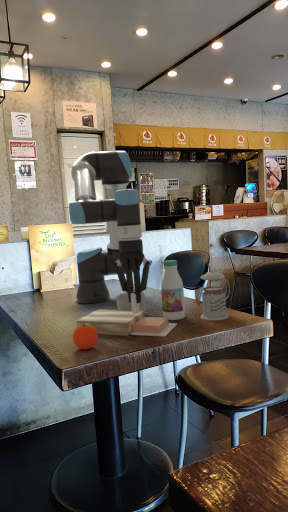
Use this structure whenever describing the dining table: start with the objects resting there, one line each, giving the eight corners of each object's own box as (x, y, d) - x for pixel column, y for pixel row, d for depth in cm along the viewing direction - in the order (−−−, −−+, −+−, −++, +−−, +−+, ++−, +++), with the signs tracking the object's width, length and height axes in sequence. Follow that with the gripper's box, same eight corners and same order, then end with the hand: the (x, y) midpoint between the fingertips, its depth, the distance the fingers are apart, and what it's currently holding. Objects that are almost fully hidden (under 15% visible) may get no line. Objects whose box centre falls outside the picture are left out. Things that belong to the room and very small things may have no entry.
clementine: (89, 341, 109) (87, 318, 109) (106, 345, 105) (104, 320, 105) (68, 350, 103) (66, 325, 102) (86, 354, 99) (83, 328, 98)
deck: (98, 320, 132) (97, 309, 132) (145, 322, 125) (144, 310, 125) (77, 332, 119) (76, 320, 119) (128, 335, 112) (127, 322, 112)
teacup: (148, 318, 130) (146, 296, 130) (117, 321, 130) (115, 298, 129) (145, 308, 144) (143, 288, 143) (117, 311, 144) (115, 291, 143)
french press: (194, 316, 128) (189, 244, 126) (219, 310, 134) (216, 241, 132) (213, 322, 120) (208, 245, 117) (239, 315, 126) (235, 241, 123)
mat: (145, 323, 124) (145, 322, 124) (177, 324, 120) (176, 323, 120) (131, 334, 113) (130, 333, 113) (165, 336, 109) (164, 335, 109)
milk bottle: (167, 314, 134) (163, 259, 132) (188, 315, 131) (184, 258, 129) (159, 320, 127) (155, 262, 125) (181, 321, 124) (177, 261, 122)
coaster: (142, 323, 123) (142, 316, 123) (168, 324, 120) (168, 317, 119) (132, 331, 115) (131, 324, 114) (159, 333, 111) (159, 325, 111)
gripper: (106, 241, 115) (112, 315, 117) (144, 239, 110) (150, 316, 112) (116, 239, 122) (122, 309, 124) (153, 237, 117) (159, 310, 119)
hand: (135, 312), depth 118 cm, fingers closed
